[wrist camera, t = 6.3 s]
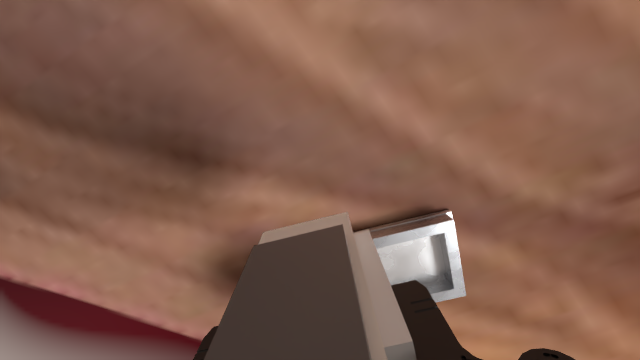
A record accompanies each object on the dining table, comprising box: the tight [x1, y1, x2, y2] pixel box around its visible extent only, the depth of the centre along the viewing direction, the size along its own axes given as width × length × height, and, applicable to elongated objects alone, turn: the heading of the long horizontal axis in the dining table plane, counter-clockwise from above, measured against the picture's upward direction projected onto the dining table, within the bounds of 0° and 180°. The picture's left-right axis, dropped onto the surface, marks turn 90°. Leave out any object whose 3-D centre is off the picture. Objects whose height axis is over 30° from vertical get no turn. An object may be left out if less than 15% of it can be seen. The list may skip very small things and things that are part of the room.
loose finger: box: [204, 212, 387, 360], centre depth 9 cm, size 4×5×10 cm
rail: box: [353, 209, 466, 302], centre depth 28 cm, size 18×8×2 cm, turn 105°
